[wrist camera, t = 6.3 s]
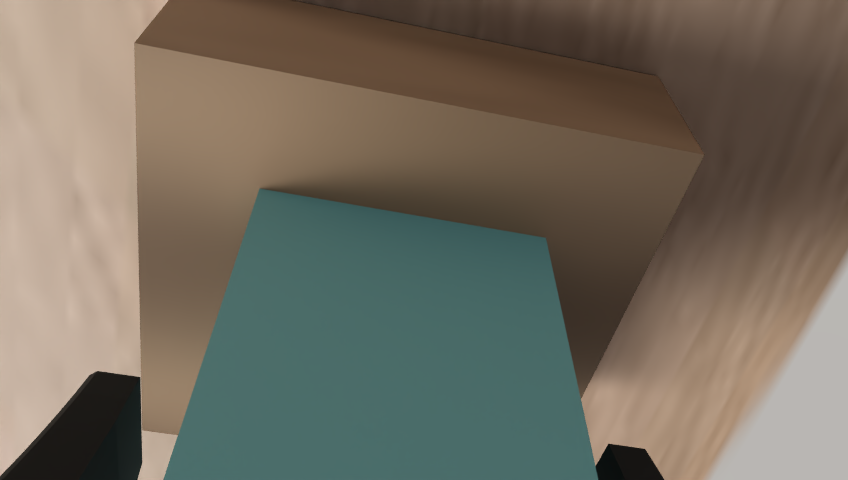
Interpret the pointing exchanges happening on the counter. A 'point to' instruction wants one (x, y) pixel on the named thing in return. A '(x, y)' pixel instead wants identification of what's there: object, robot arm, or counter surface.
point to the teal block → (384, 355)
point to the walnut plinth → (385, 158)
